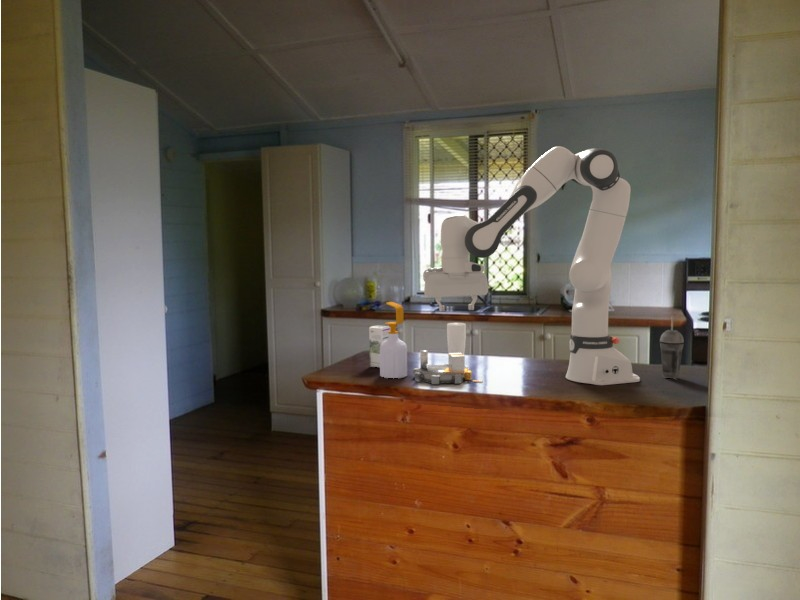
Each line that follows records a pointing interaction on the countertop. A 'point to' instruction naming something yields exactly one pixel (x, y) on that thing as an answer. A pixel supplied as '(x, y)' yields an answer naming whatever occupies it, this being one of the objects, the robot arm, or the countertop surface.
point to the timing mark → (476, 381)
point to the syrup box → (377, 343)
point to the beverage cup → (671, 352)
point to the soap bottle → (393, 349)
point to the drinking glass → (456, 337)
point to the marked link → (456, 362)
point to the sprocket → (438, 372)
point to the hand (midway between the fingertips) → (456, 310)
